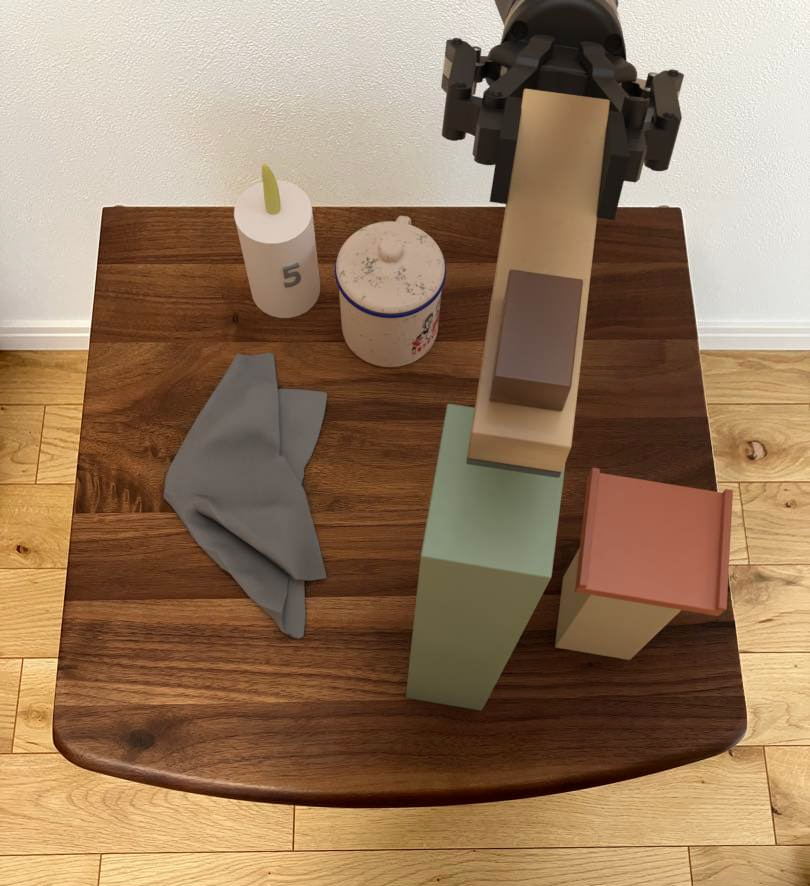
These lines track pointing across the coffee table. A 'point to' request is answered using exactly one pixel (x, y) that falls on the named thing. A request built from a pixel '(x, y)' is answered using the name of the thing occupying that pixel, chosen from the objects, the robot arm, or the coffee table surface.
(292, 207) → the candle
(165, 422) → the coffee table surface
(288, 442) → the cloth
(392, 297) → the teacup with lid
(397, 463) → the coffee table surface
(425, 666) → the mint green pillar
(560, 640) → the red-capped tan pillar
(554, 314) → the tan wooden block
